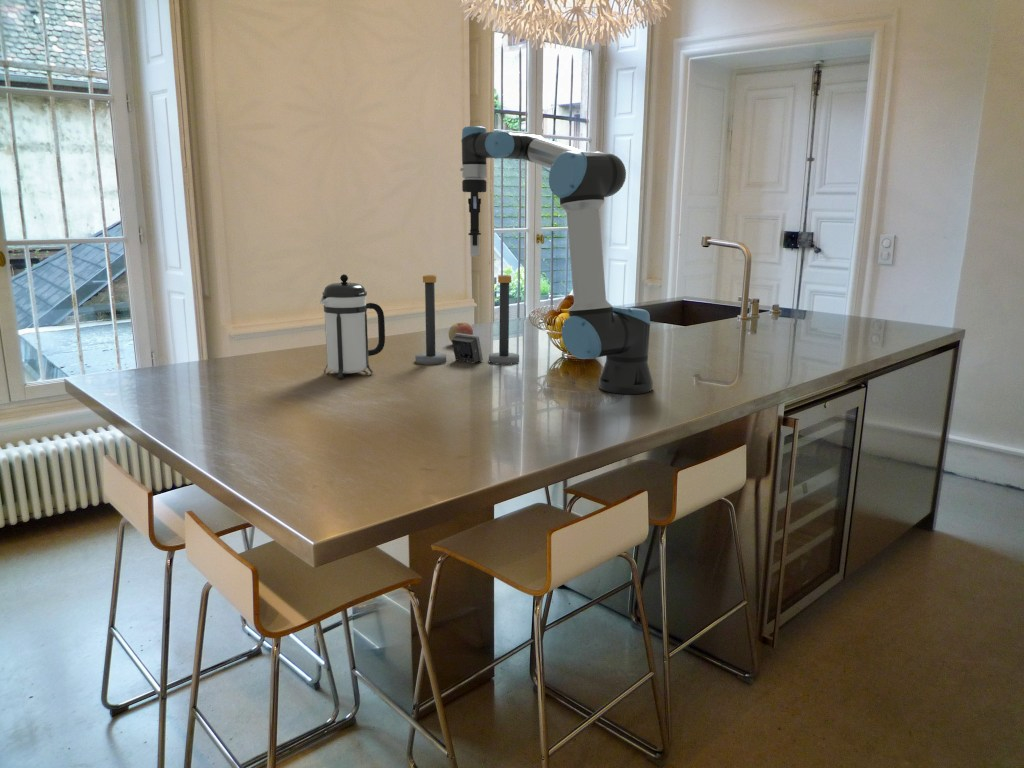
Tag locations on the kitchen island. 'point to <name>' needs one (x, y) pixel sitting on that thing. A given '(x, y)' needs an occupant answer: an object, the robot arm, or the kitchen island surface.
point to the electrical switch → (467, 348)
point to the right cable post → (504, 325)
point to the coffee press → (349, 328)
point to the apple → (460, 330)
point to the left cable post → (430, 326)
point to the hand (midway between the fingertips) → (474, 255)
